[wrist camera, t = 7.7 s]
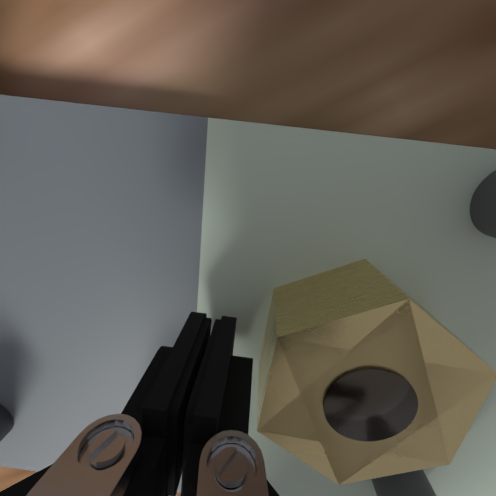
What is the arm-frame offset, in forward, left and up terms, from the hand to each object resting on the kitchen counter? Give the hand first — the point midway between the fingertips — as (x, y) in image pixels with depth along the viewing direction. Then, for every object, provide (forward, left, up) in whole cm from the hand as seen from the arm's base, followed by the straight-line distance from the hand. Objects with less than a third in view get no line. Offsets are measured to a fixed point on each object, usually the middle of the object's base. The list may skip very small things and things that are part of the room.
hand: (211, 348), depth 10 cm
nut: (-5, 0, -1) cm, 5 cm away
